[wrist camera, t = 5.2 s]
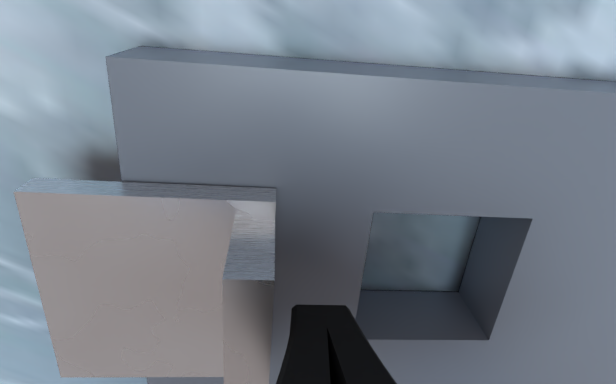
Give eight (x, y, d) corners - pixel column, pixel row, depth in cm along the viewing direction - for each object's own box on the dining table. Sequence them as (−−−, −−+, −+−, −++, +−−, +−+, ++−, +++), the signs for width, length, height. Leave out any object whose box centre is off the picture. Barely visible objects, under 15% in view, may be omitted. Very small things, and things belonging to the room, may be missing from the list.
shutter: (267, 356, 13) (264, 457, 10) (73, 355, 12) (11, 462, 9) (275, 188, 10) (275, 259, 8) (32, 177, 10) (-69, 249, 7)
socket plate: (643, 390, 19) (692, 441, 17) (172, 392, 17) (156, 452, 15) (825, 97, 13) (938, 116, 11) (140, 45, 11) (105, 56, 9)
